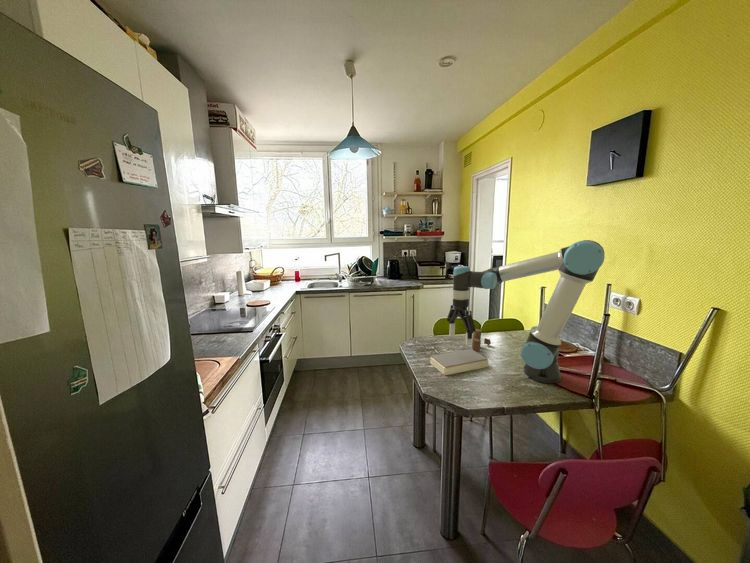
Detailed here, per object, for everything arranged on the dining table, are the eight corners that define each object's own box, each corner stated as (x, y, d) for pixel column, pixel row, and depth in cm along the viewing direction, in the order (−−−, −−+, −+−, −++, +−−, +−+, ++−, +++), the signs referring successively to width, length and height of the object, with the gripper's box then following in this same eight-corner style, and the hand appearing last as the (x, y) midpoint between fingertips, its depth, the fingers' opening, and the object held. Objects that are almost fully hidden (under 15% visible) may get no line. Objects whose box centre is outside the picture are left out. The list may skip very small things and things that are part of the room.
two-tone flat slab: (488, 366, 145) (488, 359, 144) (444, 375, 137) (445, 367, 137) (470, 356, 158) (471, 349, 157) (430, 363, 150) (430, 356, 149)
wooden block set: (480, 356, 157) (483, 338, 155) (465, 351, 162) (467, 334, 160) (490, 346, 172) (492, 329, 170) (475, 342, 177) (477, 326, 175)
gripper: (484, 302, 132) (482, 347, 135) (452, 292, 155) (452, 331, 158) (470, 304, 129) (469, 350, 133) (440, 294, 153) (439, 333, 156)
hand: (459, 340), depth 146 cm, fingers open, 13 cm apart
